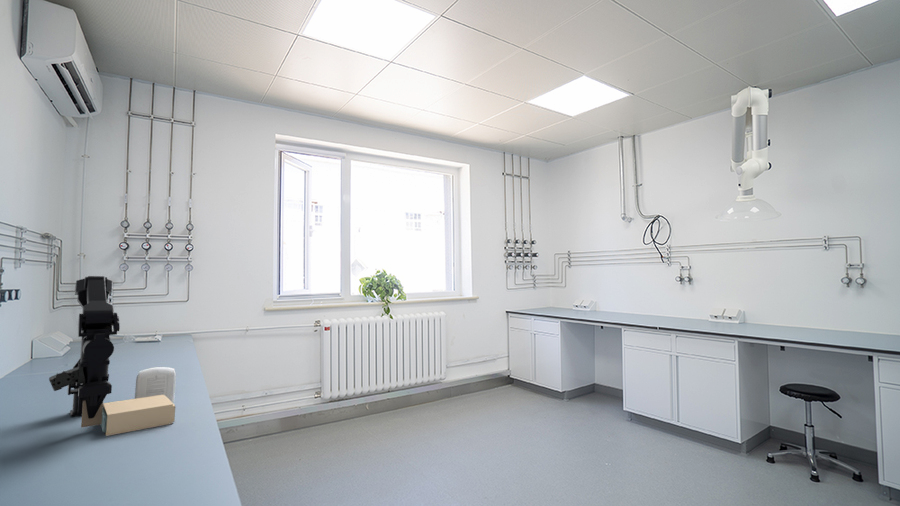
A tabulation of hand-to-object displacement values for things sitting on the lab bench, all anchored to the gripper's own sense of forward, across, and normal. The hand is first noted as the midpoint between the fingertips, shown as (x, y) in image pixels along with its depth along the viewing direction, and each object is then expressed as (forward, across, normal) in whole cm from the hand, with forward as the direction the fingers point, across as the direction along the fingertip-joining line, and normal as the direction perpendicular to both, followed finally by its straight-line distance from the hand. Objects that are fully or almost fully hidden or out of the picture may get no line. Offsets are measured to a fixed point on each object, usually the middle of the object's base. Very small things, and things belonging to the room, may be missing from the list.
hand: (90, 417), depth 109 cm
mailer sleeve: (+4, 0, +10) cm, 10 cm away
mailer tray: (+3, 0, +7) cm, 8 cm away
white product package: (+4, -14, +16) cm, 21 cm away
